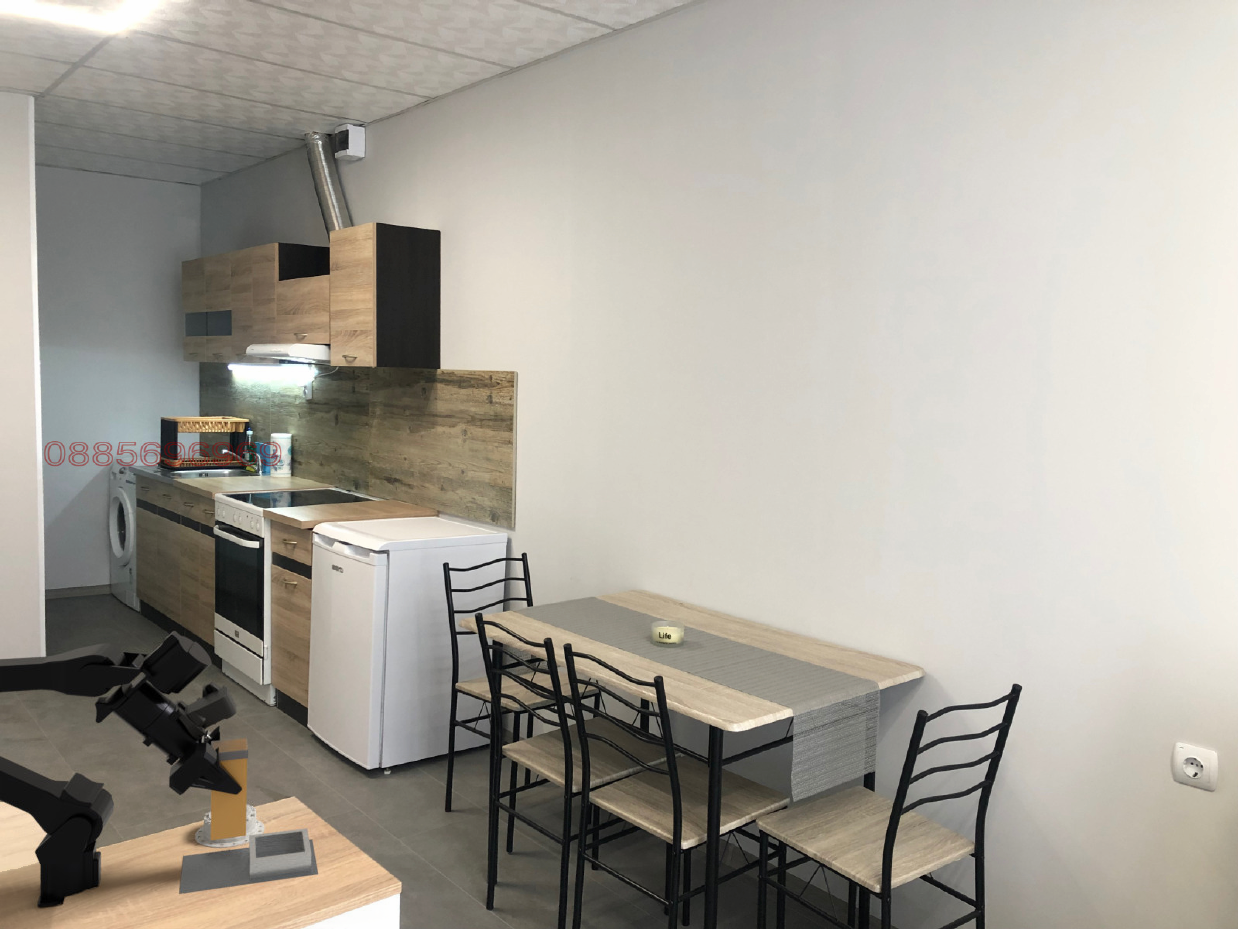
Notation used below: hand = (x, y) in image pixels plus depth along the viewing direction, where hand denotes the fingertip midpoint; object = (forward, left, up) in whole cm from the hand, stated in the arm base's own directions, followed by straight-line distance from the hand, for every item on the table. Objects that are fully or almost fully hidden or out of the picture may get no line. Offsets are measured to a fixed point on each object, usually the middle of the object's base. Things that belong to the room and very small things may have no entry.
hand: (239, 784), depth 135 cm
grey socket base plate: (+2, 0, -13) cm, 13 cm away
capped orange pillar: (-1, 0, -7) cm, 7 cm away
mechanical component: (-1, +11, -14) cm, 18 cm away
